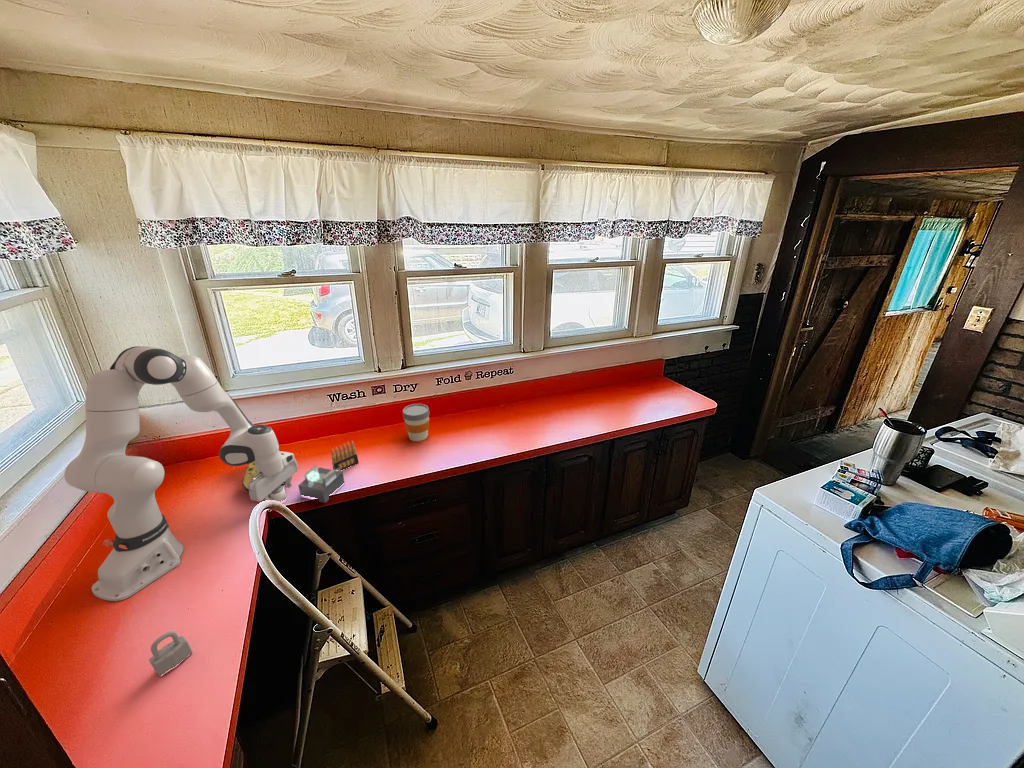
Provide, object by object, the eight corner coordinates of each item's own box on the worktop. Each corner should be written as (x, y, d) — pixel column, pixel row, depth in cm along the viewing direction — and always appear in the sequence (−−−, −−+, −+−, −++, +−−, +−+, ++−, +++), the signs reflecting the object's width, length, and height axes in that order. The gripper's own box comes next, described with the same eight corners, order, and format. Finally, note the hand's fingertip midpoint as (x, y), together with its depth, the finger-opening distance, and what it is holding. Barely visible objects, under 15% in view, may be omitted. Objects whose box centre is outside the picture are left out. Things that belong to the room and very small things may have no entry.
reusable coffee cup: (405, 444, 196) (402, 417, 190) (405, 431, 207) (402, 405, 201) (432, 441, 198) (429, 414, 192) (430, 428, 210) (428, 402, 203)
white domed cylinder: (280, 506, 156) (276, 494, 154) (269, 504, 157) (265, 491, 155) (290, 498, 161) (286, 485, 158) (279, 495, 162) (276, 483, 159)
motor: (325, 502, 158) (320, 484, 154) (301, 497, 161) (296, 478, 157) (350, 478, 172) (347, 460, 168) (328, 473, 175) (324, 456, 171)
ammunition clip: (335, 474, 175) (330, 450, 170) (333, 472, 176) (328, 448, 171) (359, 463, 182) (354, 440, 177) (356, 461, 183) (352, 438, 178)
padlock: (161, 679, 100) (147, 653, 96) (154, 670, 102) (139, 644, 98) (194, 654, 106) (181, 628, 101) (186, 646, 108) (174, 620, 103)
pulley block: (264, 440, 180) (289, 480, 162) (267, 450, 183) (292, 490, 166) (227, 454, 171) (249, 497, 154) (231, 464, 174) (253, 508, 157)
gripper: (254, 484, 143) (264, 514, 149) (296, 451, 161) (304, 480, 166) (239, 481, 144) (250, 511, 150) (283, 449, 162) (291, 477, 168)
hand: (279, 494), depth 158 cm, fingers open, 8 cm apart
